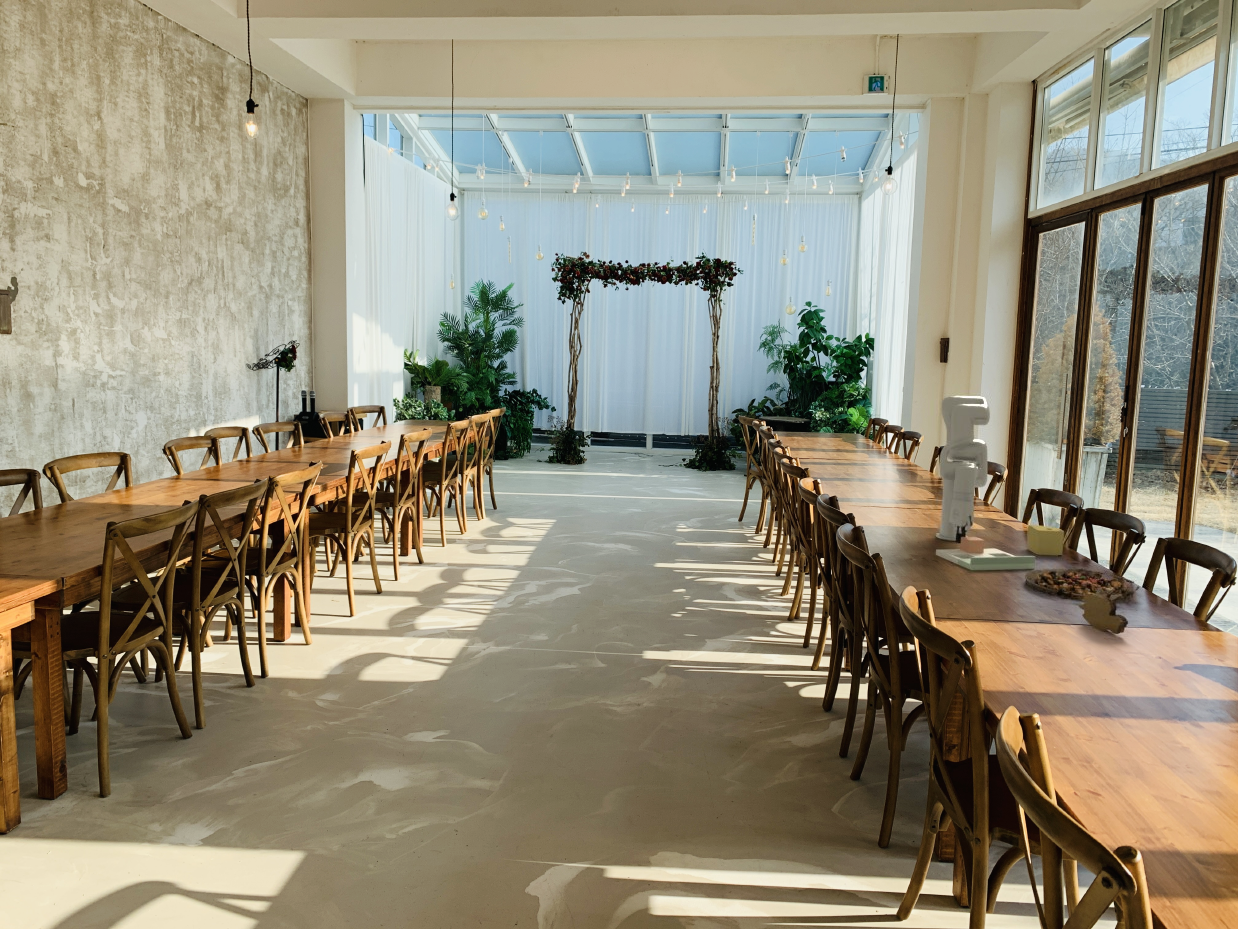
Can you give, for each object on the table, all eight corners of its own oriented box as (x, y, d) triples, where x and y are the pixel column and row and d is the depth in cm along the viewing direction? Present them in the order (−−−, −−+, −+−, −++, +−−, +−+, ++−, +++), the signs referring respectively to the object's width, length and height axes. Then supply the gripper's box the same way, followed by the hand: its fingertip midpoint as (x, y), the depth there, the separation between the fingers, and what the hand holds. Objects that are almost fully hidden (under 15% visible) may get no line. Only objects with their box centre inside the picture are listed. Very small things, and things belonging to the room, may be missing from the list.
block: (960, 549, 339) (961, 537, 338) (974, 549, 340) (975, 536, 339) (969, 553, 333) (970, 540, 332) (983, 553, 334) (984, 540, 333)
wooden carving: (1132, 638, 242) (1135, 602, 241) (1119, 639, 241) (1122, 603, 240) (1085, 620, 258) (1088, 587, 257) (1072, 621, 257) (1075, 587, 255)
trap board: (935, 554, 338) (936, 543, 338) (994, 553, 343) (995, 542, 342) (971, 570, 315) (972, 558, 314) (1034, 568, 319) (1035, 556, 319)
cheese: (1052, 550, 352) (1054, 525, 350) (1063, 556, 341) (1065, 531, 340) (1025, 549, 353) (1027, 524, 351) (1035, 555, 342) (1037, 530, 341)
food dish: (1154, 613, 271) (1156, 588, 270) (1038, 606, 278) (1040, 582, 277) (1115, 580, 305) (1117, 558, 304) (1012, 575, 312) (1014, 554, 311)
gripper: (944, 493, 348) (941, 539, 351) (965, 499, 334) (962, 547, 336) (961, 493, 350) (958, 538, 352) (983, 499, 335) (980, 547, 338)
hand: (960, 542), depth 344 cm, fingers closed
